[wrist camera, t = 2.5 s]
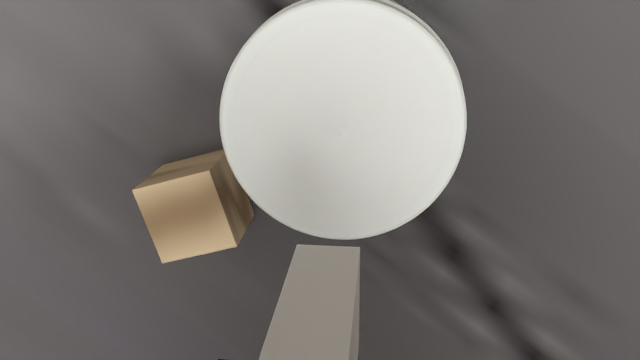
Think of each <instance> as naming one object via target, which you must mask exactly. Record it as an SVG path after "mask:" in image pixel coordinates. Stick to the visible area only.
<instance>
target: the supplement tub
mask: <svg viewBox="0 0 640 360" xmlns="http://www.w3.org/2000/svg"><path fill="white" fill-rule="evenodd" d="M219 122H220V133H221V139H222V144H223V148H224V152H225V155H226V158H227V161H228V163H229V165H230V168H231V170H232V172H233V173H234V175H235V177H236V179H237V181H238V182H239V184H240V185H241V187H242V188H243V189H244V191H245V192H246V193H247V194H248V195H249V197H250V198H251V199H252V200H253V201H254V202H255V203H256V204H257V205H258V206H259V207H260V208H261V209H262V210H264V211H265V212H266V213H267V214H269V215H270V216H271V217H273V218H274V219H276V220H277V221H279V222H281V223H283V224H284V225H286V226H288V227H290V228H292V229H295V230H297V231H300V232H303V233H306V234H309V235H312V236H317V237H322V238H328V239H340V240H348V239H361V238H367V237H371V236H376V235H379V234H383V233H386V232H388V231H391V230H393V229H396V228H398V227H400V226H402V225H403V224H405V223H407V222H409V221H410V220H412V219H414V218H415V217H416V216H418V215H419V214H421V213H422V212H423V211H424V210H425V209H426V208H428V207H429V206H430V205H431V204H432V203H433V202H434V201H435V200H436V199H437V197H438V196H439V195H440V194H441V193H442V191H443V190H444V188H445V187H446V186H447V184H448V183H449V181H450V179H451V177H452V176H453V174H454V172H455V170H456V168H457V165H458V162H459V160H460V157H461V154H462V151H463V146H464V142H465V136H466V128H467V111H466V102H465V96H464V91H463V86H462V81H461V78H460V75H459V72H458V69H457V66H456V64H455V62H454V60H453V58H452V56H451V54H450V52H449V51H448V49H447V48H446V46H445V45H444V43H443V42H442V41H441V39H440V38H439V37H438V36H437V34H436V33H435V32H434V31H433V30H432V29H431V28H430V27H429V26H428V25H427V24H426V23H425V22H424V21H423V20H421V19H420V18H419V17H418V16H416V15H415V14H413V13H412V12H411V11H409V10H408V9H406V8H405V7H403V6H401V5H400V4H398V3H397V2H395V1H393V0H301V1H298V2H296V3H293V4H291V5H289V6H288V7H286V8H284V9H282V10H281V11H279V12H277V13H276V14H275V15H273V16H272V17H271V18H269V19H268V20H267V21H265V22H264V23H263V24H262V25H261V26H260V27H259V28H258V29H257V30H256V31H255V32H254V33H253V35H252V36H251V37H250V38H249V39H248V41H247V42H246V43H245V44H244V45H243V47H242V48H241V50H240V52H239V53H238V55H237V56H236V58H235V60H234V61H233V63H232V65H231V67H230V70H229V72H228V74H227V77H226V80H225V83H224V87H223V91H222V95H221V102H220V119H219Z"/></svg>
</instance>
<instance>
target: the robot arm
mask: <svg viewBox="0 0 640 360" xmlns="http://www.w3.org/2000/svg"><path fill="white" fill-rule="evenodd" d="M359 296H360V247H346V246H323V245H300V244H297V246H296V249H295V252H294V255H293V258H292V261H291V264H290V267H289V270H288V273H287V276H286V279H285V282H284V285H283V288H282V291H281V294H280V297H279V300H278V303H277V306H276V309H275V312H274V315H273V318H272V321H271V324H270V327H269V330H268V333H267V336H266V339H265V342H264V345H263V348H262V351H261V354H260V357H259V360H357V359H358V347H359ZM218 360H224V359H218Z"/></svg>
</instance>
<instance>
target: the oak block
mask: <svg viewBox="0 0 640 360" xmlns="http://www.w3.org/2000/svg"><path fill="white" fill-rule="evenodd" d="M132 191H133V194H134V196H135V199H136V201H137V203H138V206H139V208H140V211H141V213H142V215H143V218H144V220H145V223H146V225H147V228H148V230H149V232H150V235H151V237H152V240H153V242H154V244H155V247H156V249H157V252H158V254H159V257H160V259H161V261H162V263H166V262H171V261H175V260H180V259H184V258H189V257H193V256H197V255H202V254H206V253H211V252H215V251H220V250H224V249H229V248H233V247H237V246H238V244H239V242H240V240H241V238H242V237H243V235H244V233H245V231H246V229H247V228H248V226H249V224H250V222H251V220H252V219H253V217H254V212H253V209H252V206H251V203H250V201H249V198H248V195H247V193H246V192H245V191H244V189H243V188H242V187H241V185H240V184H239V182H238V181H237V179H236V177H235V175H234V173H233V172H232V170H231V168H230V165H229V163H228V161H227V158H226V155H225V152H224V149H222V150H218V151H214V152H210V153H206V154H202V155H199V156H195V157H191V158H187V159H183V160H179V161H176V162H172V163H168V164H164V165H162V166H161V167H159V168H158V169H157V170H156V171H155V172H153V173H152V174H151V175H150V176H149V177H147V178H146V179H145V180H144V181H142V182H141V183H140V184H139V185H138V186H136V187H135V188H134V189H133V190H132Z"/></svg>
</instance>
